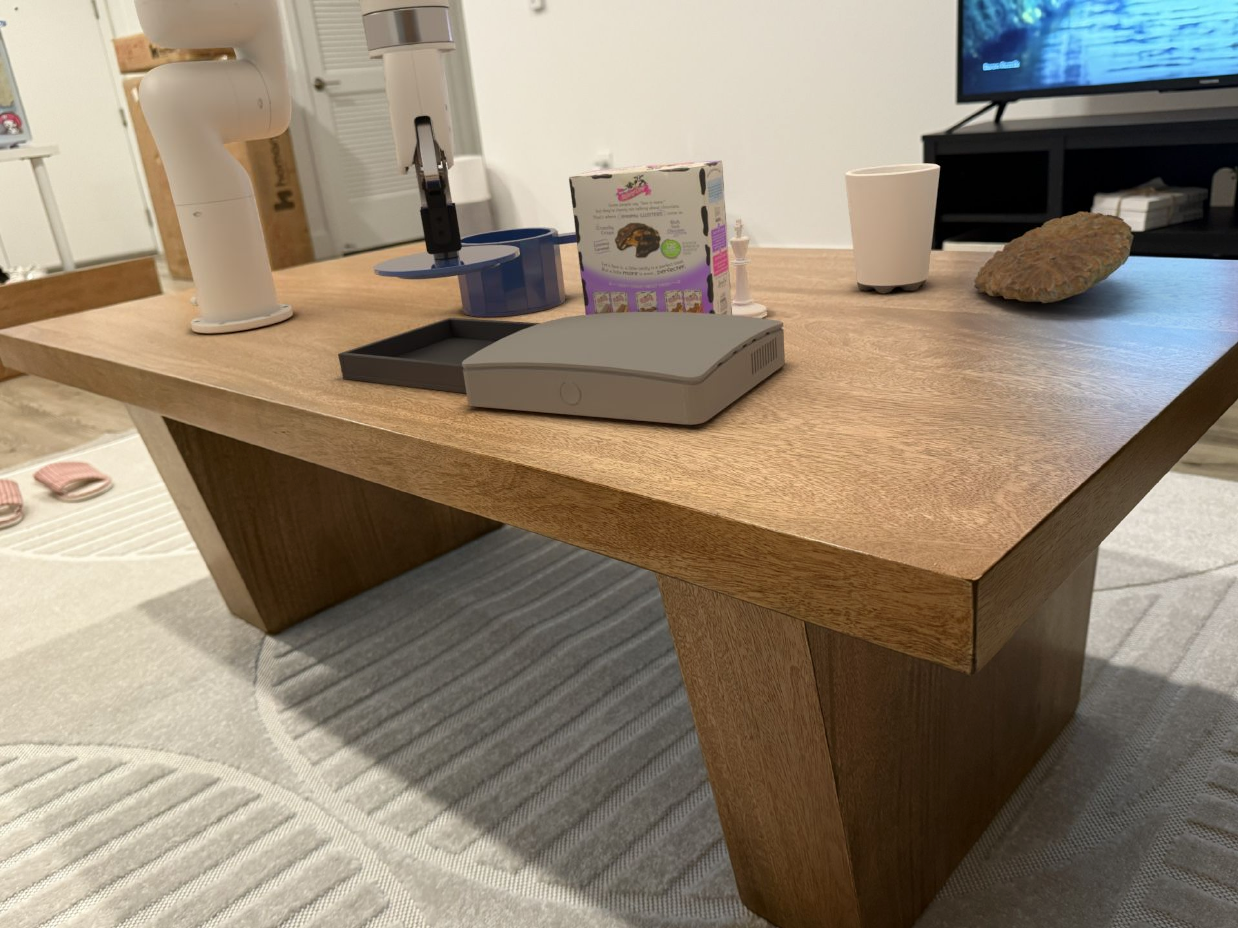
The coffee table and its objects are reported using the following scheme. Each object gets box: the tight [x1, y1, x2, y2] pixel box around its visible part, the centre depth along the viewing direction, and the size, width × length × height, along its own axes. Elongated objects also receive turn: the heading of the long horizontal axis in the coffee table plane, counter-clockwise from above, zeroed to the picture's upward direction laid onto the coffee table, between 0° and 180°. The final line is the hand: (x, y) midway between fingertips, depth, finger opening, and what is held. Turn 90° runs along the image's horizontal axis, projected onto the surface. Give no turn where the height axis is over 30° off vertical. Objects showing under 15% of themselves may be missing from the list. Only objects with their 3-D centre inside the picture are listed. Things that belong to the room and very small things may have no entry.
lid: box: [372, 203, 520, 280], centre depth 91 cm, size 14×14×6 cm
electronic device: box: [462, 312, 786, 425], centre depth 82 cm, size 19×22×5 cm
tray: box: [337, 317, 542, 394], centre depth 95 cm, size 17×15×2 cm
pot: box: [457, 226, 577, 318], centre depth 120 cm, size 13×18×8 cm
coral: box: [973, 211, 1134, 304], centre depth 97 cm, size 19×9×15 cm
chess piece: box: [729, 218, 768, 319], centre depth 102 cm, size 5×5×10 cm
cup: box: [844, 163, 941, 294], centre depth 108 cm, size 10×10×13 cm
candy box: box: [568, 160, 732, 315], centre depth 95 cm, size 14×6×16 cm, turn 65°
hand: (444, 248), depth 92 cm, fingers closed on lid, 2 cm apart
